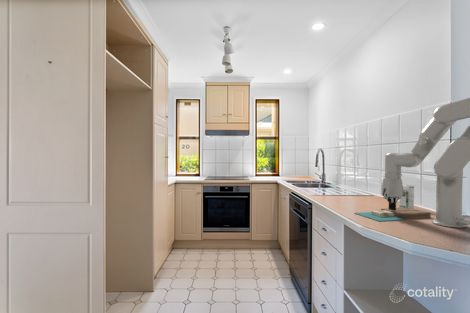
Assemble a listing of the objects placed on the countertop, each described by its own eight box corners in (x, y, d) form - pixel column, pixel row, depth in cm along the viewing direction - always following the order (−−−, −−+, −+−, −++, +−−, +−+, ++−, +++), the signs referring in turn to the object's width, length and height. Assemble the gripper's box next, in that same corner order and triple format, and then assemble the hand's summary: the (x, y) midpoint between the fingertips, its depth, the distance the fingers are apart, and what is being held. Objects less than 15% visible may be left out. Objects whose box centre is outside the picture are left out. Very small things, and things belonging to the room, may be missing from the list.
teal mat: (405, 220, 130) (405, 219, 130) (379, 221, 127) (379, 220, 127) (377, 212, 148) (377, 211, 148) (354, 213, 144) (354, 212, 144)
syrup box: (398, 207, 163) (398, 184, 163) (405, 207, 165) (405, 184, 165) (407, 209, 157) (407, 185, 157) (414, 209, 159) (414, 185, 159)
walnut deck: (430, 217, 137) (430, 212, 137) (402, 219, 132) (402, 214, 132) (407, 211, 150) (407, 207, 150) (381, 213, 146) (381, 208, 146)
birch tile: (385, 213, 143) (385, 210, 143) (394, 216, 137) (394, 212, 137) (371, 214, 141) (371, 210, 141) (379, 216, 135) (379, 213, 135)
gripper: (398, 175, 145) (398, 208, 145) (375, 175, 142) (375, 208, 142) (410, 176, 138) (409, 210, 138) (386, 176, 134) (386, 211, 134)
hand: (392, 209), depth 140 cm, fingers closed
